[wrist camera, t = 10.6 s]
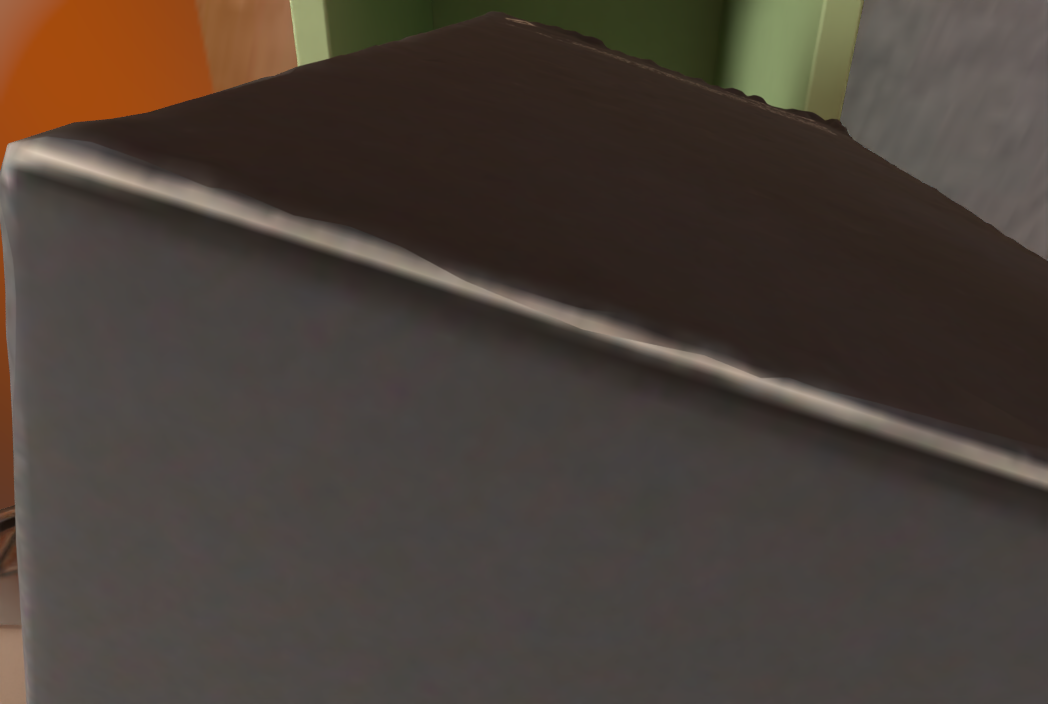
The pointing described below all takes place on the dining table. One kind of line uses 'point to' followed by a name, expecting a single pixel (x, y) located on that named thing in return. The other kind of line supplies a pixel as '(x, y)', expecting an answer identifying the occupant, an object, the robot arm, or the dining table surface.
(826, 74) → the chest
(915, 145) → the dining table surface
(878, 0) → the dining table surface
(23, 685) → the robot arm
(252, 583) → the small box
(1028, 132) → the dining table surface
